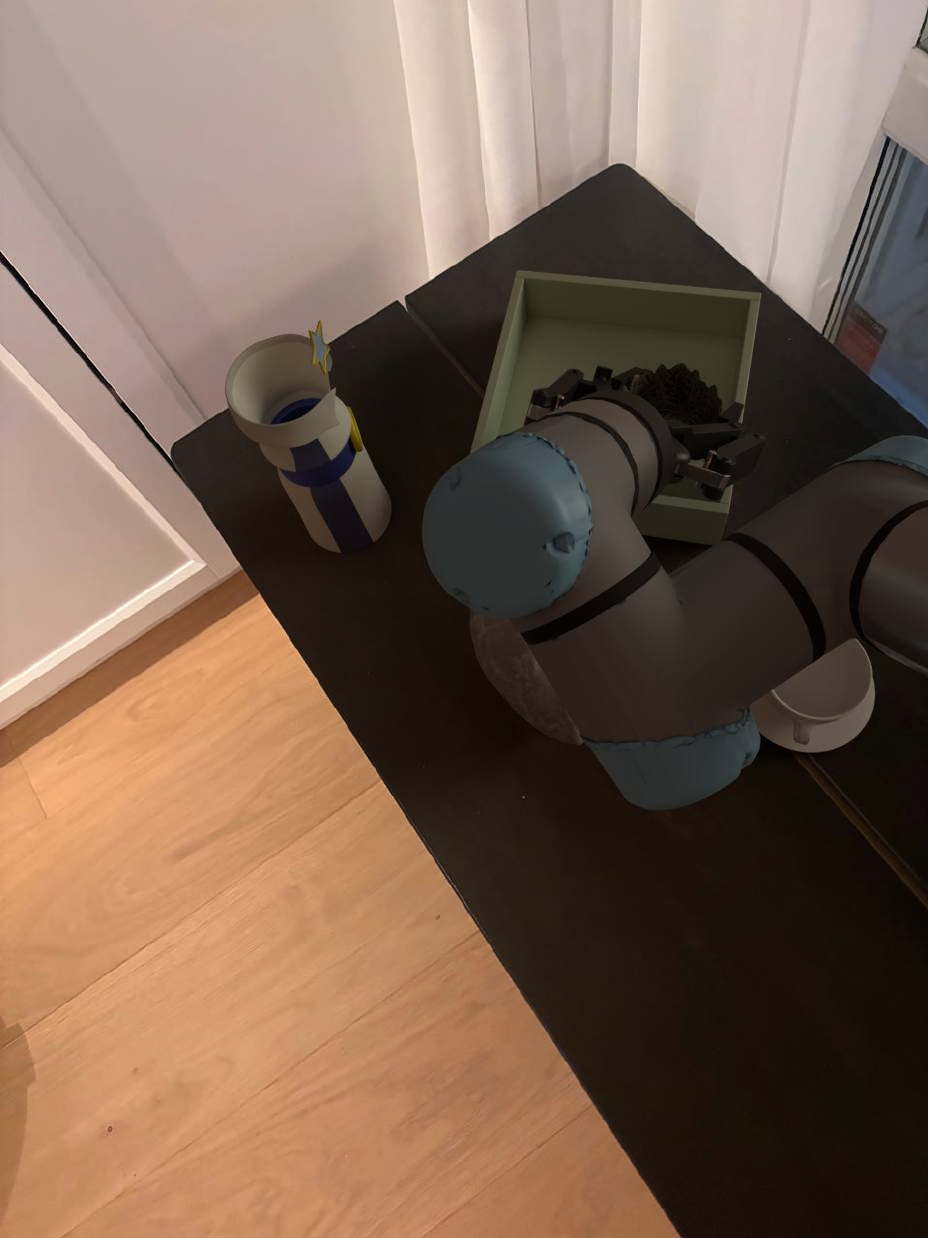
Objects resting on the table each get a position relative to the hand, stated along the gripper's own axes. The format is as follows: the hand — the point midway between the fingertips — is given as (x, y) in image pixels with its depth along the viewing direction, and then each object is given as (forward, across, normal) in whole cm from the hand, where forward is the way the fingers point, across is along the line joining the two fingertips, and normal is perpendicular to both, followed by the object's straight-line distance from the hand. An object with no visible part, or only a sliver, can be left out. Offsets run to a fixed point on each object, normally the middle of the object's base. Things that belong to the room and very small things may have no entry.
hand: (683, 402), depth 71 cm
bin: (+5, -6, -5) cm, 9 cm away
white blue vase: (-7, -23, -17) cm, 29 cm away
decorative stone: (-11, -1, -21) cm, 23 cm away
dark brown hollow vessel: (0, 0, -5) cm, 5 cm away
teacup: (-6, +17, -16) cm, 24 cm away
